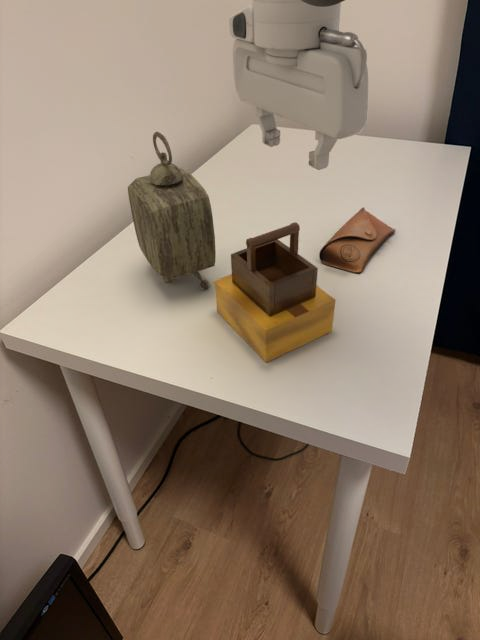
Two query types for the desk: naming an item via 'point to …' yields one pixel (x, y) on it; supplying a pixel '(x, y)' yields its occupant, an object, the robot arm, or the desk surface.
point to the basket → (274, 271)
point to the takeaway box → (274, 320)
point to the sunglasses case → (355, 242)
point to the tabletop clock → (173, 219)
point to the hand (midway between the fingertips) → (293, 155)
